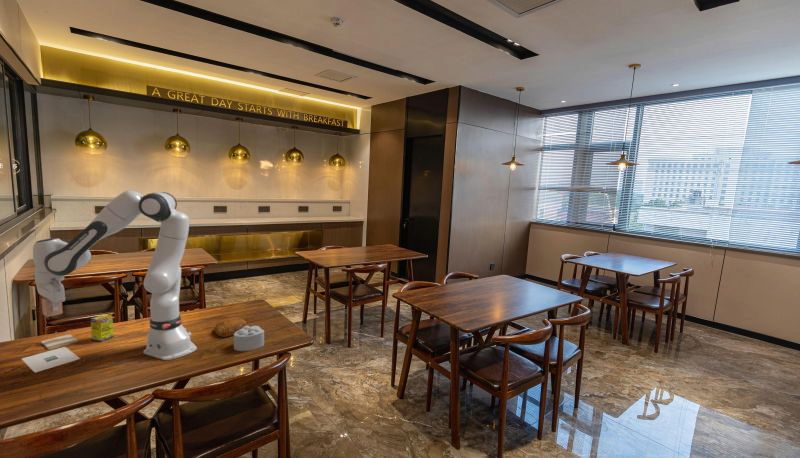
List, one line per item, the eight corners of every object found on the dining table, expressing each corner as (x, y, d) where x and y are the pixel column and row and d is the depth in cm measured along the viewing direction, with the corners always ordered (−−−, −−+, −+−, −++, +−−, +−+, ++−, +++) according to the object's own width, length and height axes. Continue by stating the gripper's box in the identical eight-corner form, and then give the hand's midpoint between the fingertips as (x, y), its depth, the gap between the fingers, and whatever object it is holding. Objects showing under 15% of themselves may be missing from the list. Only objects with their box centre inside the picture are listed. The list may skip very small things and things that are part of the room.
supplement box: (101, 342, 169) (100, 320, 168) (91, 340, 170) (90, 318, 169) (114, 337, 175) (112, 315, 173) (104, 335, 176) (102, 314, 174)
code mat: (80, 359, 154) (80, 358, 154) (34, 373, 142) (34, 372, 142) (65, 346, 163) (65, 346, 163) (21, 359, 151) (21, 358, 151)
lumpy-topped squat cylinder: (266, 346, 174) (266, 328, 173) (238, 353, 165) (238, 336, 164) (257, 338, 182) (257, 322, 180) (230, 345, 173) (230, 328, 172)
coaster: (77, 341, 168) (77, 339, 168) (48, 349, 160) (48, 347, 160) (69, 335, 174) (69, 333, 173) (41, 343, 165) (41, 341, 165)
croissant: (251, 334, 191) (253, 319, 190) (223, 340, 178) (225, 324, 177) (235, 326, 198) (236, 312, 198) (207, 331, 185) (209, 316, 185)
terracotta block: (62, 313, 154) (61, 297, 153) (46, 316, 150) (45, 300, 149) (58, 310, 157) (57, 295, 156) (42, 314, 153) (41, 298, 152)
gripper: (69, 279, 149) (71, 311, 150) (51, 271, 159) (53, 301, 161) (48, 283, 143) (51, 316, 145) (31, 273, 154) (34, 304, 156)
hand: (52, 308), depth 153 cm, fingers closed on terracotta block, 5 cm apart
